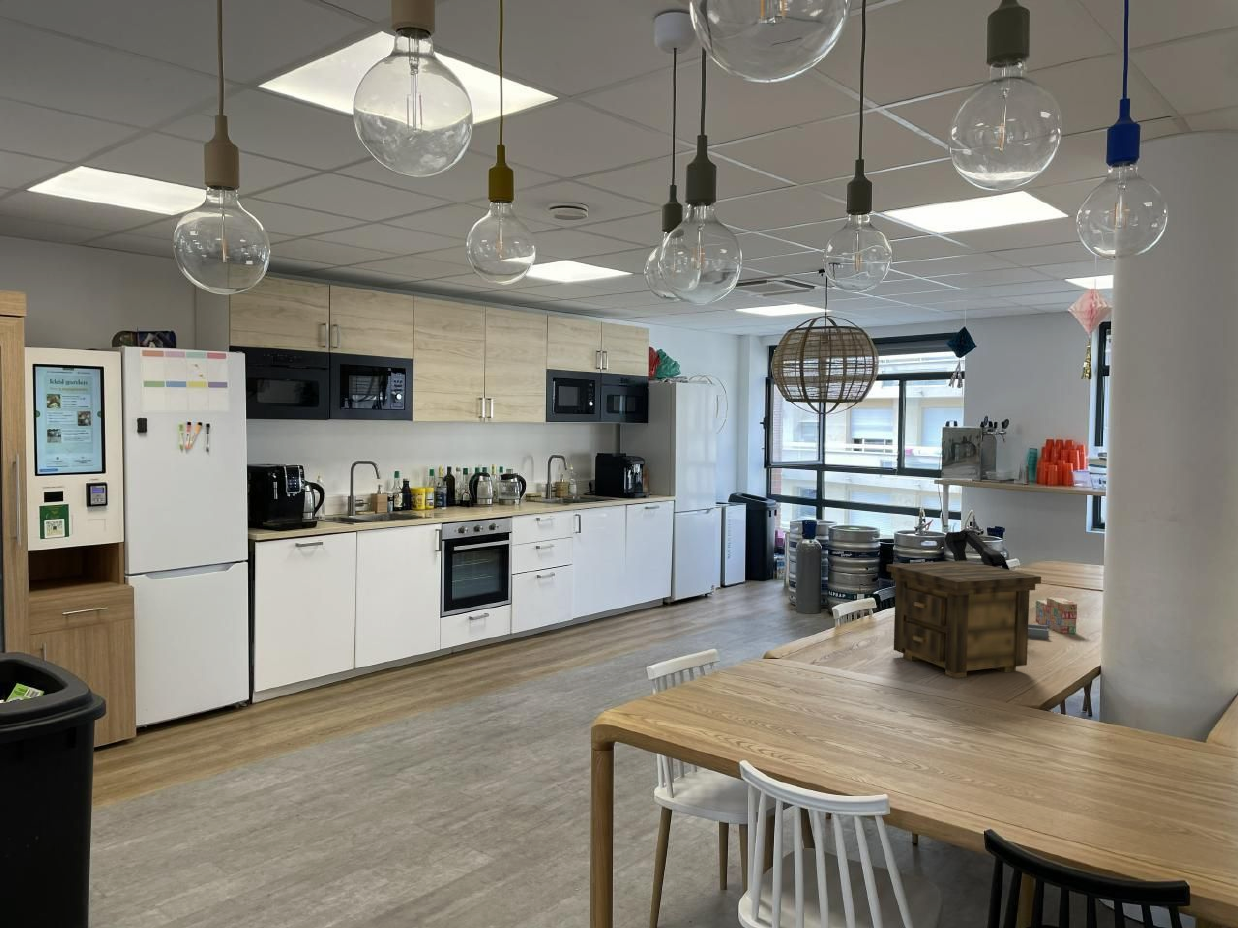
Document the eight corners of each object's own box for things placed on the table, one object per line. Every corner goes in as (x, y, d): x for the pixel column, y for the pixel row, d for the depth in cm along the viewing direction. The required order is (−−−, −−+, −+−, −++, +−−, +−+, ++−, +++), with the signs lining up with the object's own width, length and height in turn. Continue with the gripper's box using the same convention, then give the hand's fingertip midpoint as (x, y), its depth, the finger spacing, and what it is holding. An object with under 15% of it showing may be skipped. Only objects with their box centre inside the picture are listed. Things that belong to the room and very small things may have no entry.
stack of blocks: (1034, 621, 364) (1035, 593, 363) (1049, 621, 364) (1050, 593, 363) (1060, 633, 342) (1062, 603, 342) (1076, 633, 343) (1077, 603, 342)
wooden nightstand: (1037, 673, 284) (1041, 576, 283) (954, 683, 272) (957, 581, 271) (961, 647, 317) (964, 560, 316) (883, 655, 305) (886, 564, 303)
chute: (992, 633, 340) (992, 624, 340) (992, 628, 348) (992, 620, 348) (1048, 639, 332) (1048, 630, 332) (1046, 634, 340) (1047, 625, 340)
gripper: (967, 585, 340) (966, 623, 340) (1019, 589, 332) (1017, 628, 333) (968, 580, 350) (967, 618, 351) (1018, 584, 342) (1017, 623, 343)
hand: (991, 622), depth 344 cm, fingers closed
